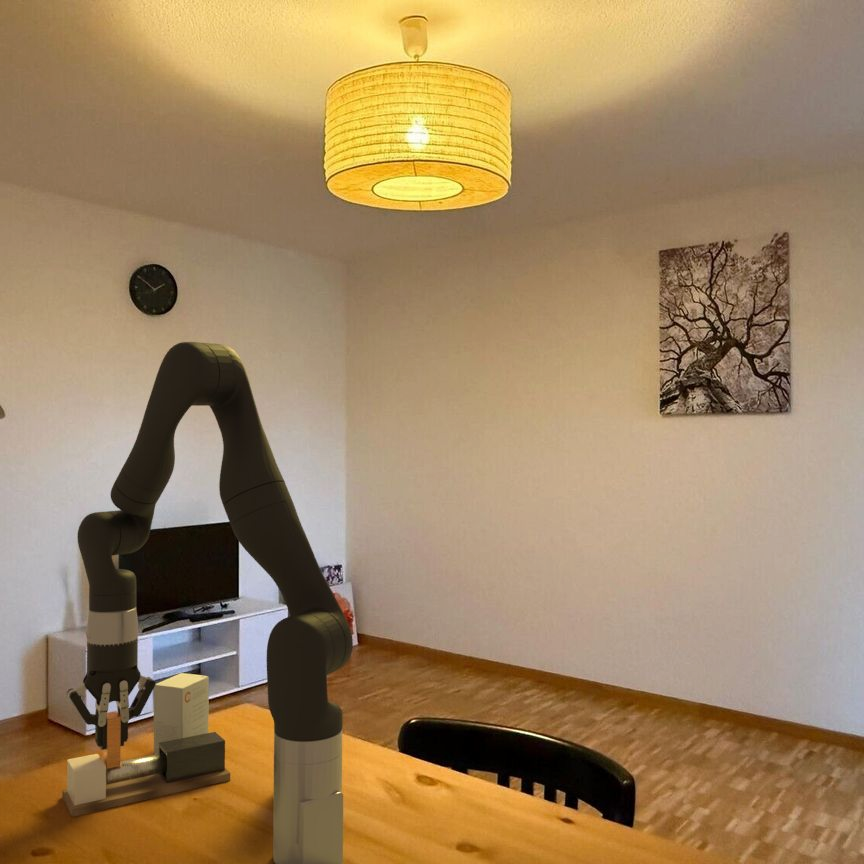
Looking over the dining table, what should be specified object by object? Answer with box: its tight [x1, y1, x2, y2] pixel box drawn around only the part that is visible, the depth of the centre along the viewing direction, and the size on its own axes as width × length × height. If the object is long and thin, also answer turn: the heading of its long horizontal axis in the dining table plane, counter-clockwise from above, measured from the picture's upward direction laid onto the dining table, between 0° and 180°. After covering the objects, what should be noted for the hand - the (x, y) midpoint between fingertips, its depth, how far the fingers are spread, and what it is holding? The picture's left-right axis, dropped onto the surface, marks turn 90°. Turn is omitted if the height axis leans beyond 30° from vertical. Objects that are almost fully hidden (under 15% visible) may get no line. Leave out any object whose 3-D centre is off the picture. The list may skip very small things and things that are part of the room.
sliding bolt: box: [102, 710, 166, 785], centre depth 132 cm, size 14×3×11 cm, turn 124°
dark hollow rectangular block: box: [158, 731, 226, 783], centre depth 138 cm, size 10×5×5 cm, turn 124°
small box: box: [153, 672, 210, 755], centre depth 150 cm, size 8×6×13 cm
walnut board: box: [61, 767, 231, 818], centre depth 134 cm, size 24×8×1 cm, turn 124°
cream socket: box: [66, 753, 106, 806], centre depth 129 cm, size 4×6×5 cm
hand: (111, 745), depth 131 cm, fingers closed on sliding bolt, 2 cm apart
